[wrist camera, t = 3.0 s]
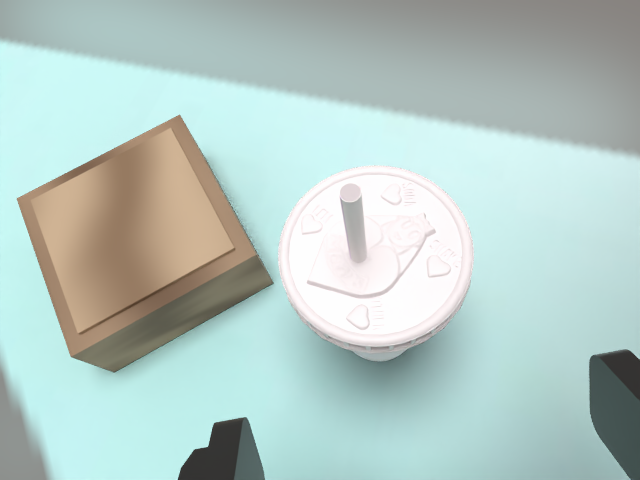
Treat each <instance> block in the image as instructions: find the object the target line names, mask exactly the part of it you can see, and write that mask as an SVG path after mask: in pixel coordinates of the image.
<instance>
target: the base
mask: <svg viewBox="0 0 640 480" xmlns="http://www.w3.org/2000/svg"><path fill="white" fill-rule="evenodd" d="M17 201H18V204H19V207H20V210H21V213H22V216H23V219H24V221H25V224H26V227H27V230H28V233H29V236H30V239H31V242H32V245H33V248H34V251H35V254H36V257H37V259H38V262H39V265H40V268H41V271H42V274H43V277H44V280H45V283H46V286H47V289H48V292H49V294H50V297H51V300H52V303H53V306H54V309H55V312H56V315H57V318H58V321H59V324H60V327H61V330H62V332H63V335H64V338H65V341H66V344H67V347H68V350H69V353H70V356H71V357H72V358H75V359H78V360H81V361H84V362H87V363H89V364H92V365H95V366H98V367H101V368H103V369H106V370H109V371H112V372H116V371H118V370H119V369H121V368H123V367H125V366H126V365H128V364H130V363H132V362H134V361H135V360H137V359H139V358H141V357H143V356H144V355H146V354H148V353H150V352H151V351H153V350H155V349H157V348H159V347H160V346H162V345H164V344H166V343H168V342H169V341H171V340H173V339H175V338H176V337H178V336H180V335H182V334H184V333H185V332H187V331H189V330H191V329H193V328H194V327H196V326H198V325H200V324H201V323H203V322H205V321H207V320H209V319H210V318H212V317H214V316H216V315H217V314H219V313H221V312H223V311H225V310H226V309H228V308H230V307H232V306H234V305H235V304H237V303H239V302H241V301H242V300H244V299H246V298H248V297H250V296H251V295H253V294H255V293H257V292H259V291H260V290H262V289H264V288H266V287H267V286H269V285H271V284H273V281H272V279H271V277H270V276H269V274H268V272H267V270H266V268H265V267H264V265H263V263H262V261H261V259H260V257H259V256H258V254H257V252H256V250H255V248H254V246H253V245H252V243H251V241H250V239H249V237H248V236H247V234H246V232H245V230H244V228H243V226H242V225H241V223H240V221H239V219H238V217H237V215H236V214H235V212H234V210H233V208H232V206H231V205H230V203H229V201H228V199H227V197H226V195H225V194H224V192H223V190H222V188H221V186H220V184H219V183H218V181H217V179H216V177H215V175H214V174H213V172H212V170H211V168H210V166H209V164H208V163H207V161H206V159H205V157H204V155H203V154H202V152H201V150H200V148H199V147H198V145H197V143H196V142H195V140H194V138H193V136H192V135H191V133H190V131H189V130H188V128H187V126H186V124H185V123H184V121H183V119H182V118H181V116H180V115H178V116H176V117H174V118H172V119H170V120H168V121H167V122H165V123H163V124H161V125H159V126H157V127H155V128H153V129H151V130H149V131H147V132H145V133H143V134H141V135H139V136H137V137H135V138H133V139H132V140H130V141H128V142H126V143H124V144H122V145H120V146H118V147H116V148H114V149H112V150H110V151H108V152H106V153H104V154H102V155H100V156H99V157H97V158H95V159H93V160H91V161H89V162H87V163H85V164H83V165H81V166H79V167H77V168H75V169H73V170H71V171H69V172H67V173H65V174H64V175H62V176H60V177H58V178H56V179H54V180H52V181H50V182H48V183H46V184H44V185H42V186H40V187H38V188H36V189H34V190H32V191H30V192H29V193H27V194H25V195H23V196H21V197H19V198H17Z"/></svg>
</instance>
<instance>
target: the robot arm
mask: <svg viewBox="0 0 640 480" xmlns="http://www.w3.org/2000/svg"><path fill="white" fill-rule="evenodd" d="M589 378H590V414H591V418H592V422H593V425H594V427H595V430H596V432H597V434H598V435H599V437H600V439H601V440H602V441H603V443H604V444H605V445H606V447H607V448H608V449H609V451H610V452H611V453H612V455H613V456H614V458H615V459H616V460H617V462H618V463H619V464H620V466H621V467H622V468H623V470H624V471H625V472H626V474H627V475H628V476H629V478H630V479H631V480H640V360H639V359H638V358H637V357H636V356H635V355H634V354H633V353H632V352H631V351H629V350H626V349H625V350H619V351H614V352H608V353H603V354H597V355H593V356H591V358H590V362H589ZM178 480H265V478H264V471H263V467H262V463H261V460H260V457H259V453H258V450H257V447H256V443H255V440H254V437H253V434H252V430H251V427H250V424H249V421H248V419H247V418H246V417H244V418H238V419H233V420H227V421H222V422H216V423H214V425H213V428H212V432H211V437H210V441H209V446H208V447H206V448H200V449H195V450H194V451H193V452H192V454H191V455H190V456H189V458H188V459H187V461H186V462H185V463H184V465H183V466H182V468H181V470H180V474H179V477H178Z"/></svg>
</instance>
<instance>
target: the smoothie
mask: <svg viewBox="0 0 640 480" xmlns="http://www.w3.org/2000/svg"><path fill="white" fill-rule="evenodd" d="M278 261H279V270H280V276H281V279H282V282H283V285H284V288H285V290H286V293H287V296H288V300H289V302H290V303H291V305H292V306H293V308H294V309H295V311H296V312H297V314H298V315H299V317H300V319H301V320H302V321H303V322H304V323H305V324H306V325H307V326H308V327H309V328H311V329H312V330H313V331H314V332H315V333H316V334H318V335H319V336H320V337H321V338H323V339H325V340H327V341H329V342H331V343H333V344H335V345H337V346H340V347H342V348H344V349H347V350H351V351H353V352H354V353H355V354H357V355H358V356H360V357H362V358H364V359H367V360H370V361H387V360H391V359H394V358H396V357H398V356H399V355H401V354H402V353H403V352H405V351H406V350H407V349H408V348H410V347H413V346H416V345H418V344H421V343H423V342H425V341H426V340H428V339H429V338H431V337H432V336H433V335H435V334H436V333H438V332H439V331H441V330H442V329H444V328H445V327H446V325H447V324H448V323H449V322H450V320H451V319H452V318H453V317H454V315H455V314H456V313H457V312H458V311H459V309H460V308H461V306H462V303H463V301H464V298H465V296H466V294H467V291H468V289H469V287H470V281H471V275H472V270H473V261H474V249H473V241H472V237H471V232H470V229H469V227H468V224H467V222H466V219H465V217H464V215H463V214H462V212H461V210H460V209H459V207H458V206H457V204H456V203H455V202H454V200H453V199H452V198H451V197H450V196H449V195H448V194H447V193H446V192H445V191H444V190H443V189H441V188H440V187H439V186H437V185H436V184H435V183H433V182H432V181H430V180H428V179H427V178H425V177H423V176H421V175H419V174H416V173H414V172H411V171H408V170H405V169H401V168H396V167H390V166H363V167H356V168H352V169H348V170H345V171H342V172H339V173H337V174H334V175H332V176H330V177H328V178H326V179H324V180H323V181H321V182H320V183H318V184H317V185H315V186H314V187H313V188H311V189H310V190H309V191H308V192H307V193H306V194H305V195H304V196H303V197H302V198H301V199H300V200H299V201H298V202H297V204H296V205H295V207H294V208H293V209H292V211H291V213H290V214H289V216H288V218H287V220H286V222H285V225H284V227H283V230H282V233H281V238H280V242H279V251H278Z"/></svg>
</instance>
